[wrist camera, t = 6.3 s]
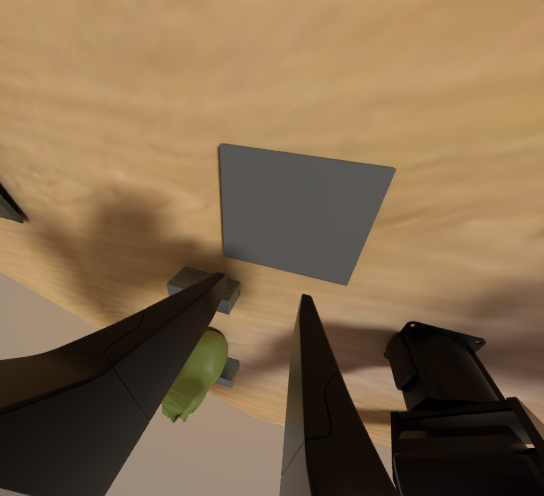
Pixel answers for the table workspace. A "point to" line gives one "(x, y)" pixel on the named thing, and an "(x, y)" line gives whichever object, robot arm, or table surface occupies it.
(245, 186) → the mat
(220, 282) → the robot arm
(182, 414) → the pear
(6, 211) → the tool
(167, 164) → the table surface
